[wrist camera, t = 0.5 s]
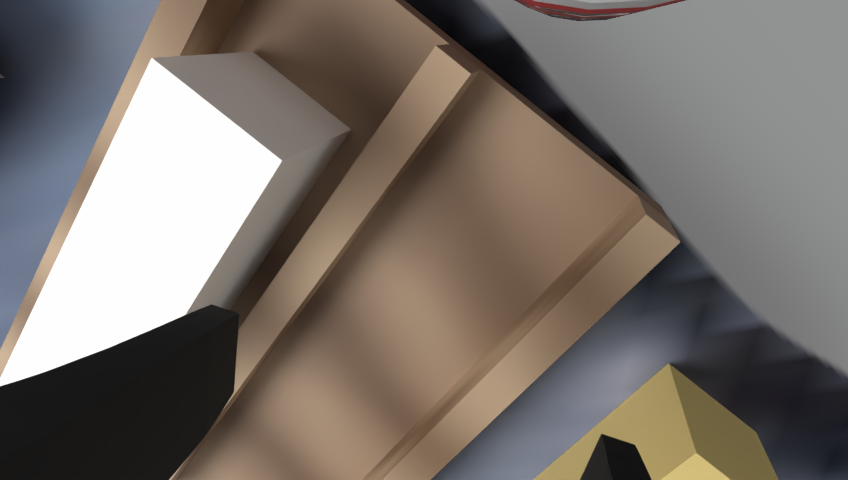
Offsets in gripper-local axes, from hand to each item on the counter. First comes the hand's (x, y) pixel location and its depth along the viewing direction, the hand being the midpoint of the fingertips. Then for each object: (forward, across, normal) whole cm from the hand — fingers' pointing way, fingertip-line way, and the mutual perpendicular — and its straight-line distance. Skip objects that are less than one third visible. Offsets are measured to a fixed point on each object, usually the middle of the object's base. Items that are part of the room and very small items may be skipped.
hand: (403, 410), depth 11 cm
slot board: (+10, +6, +5) cm, 13 cm away
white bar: (+9, +9, +4) cm, 13 cm away
